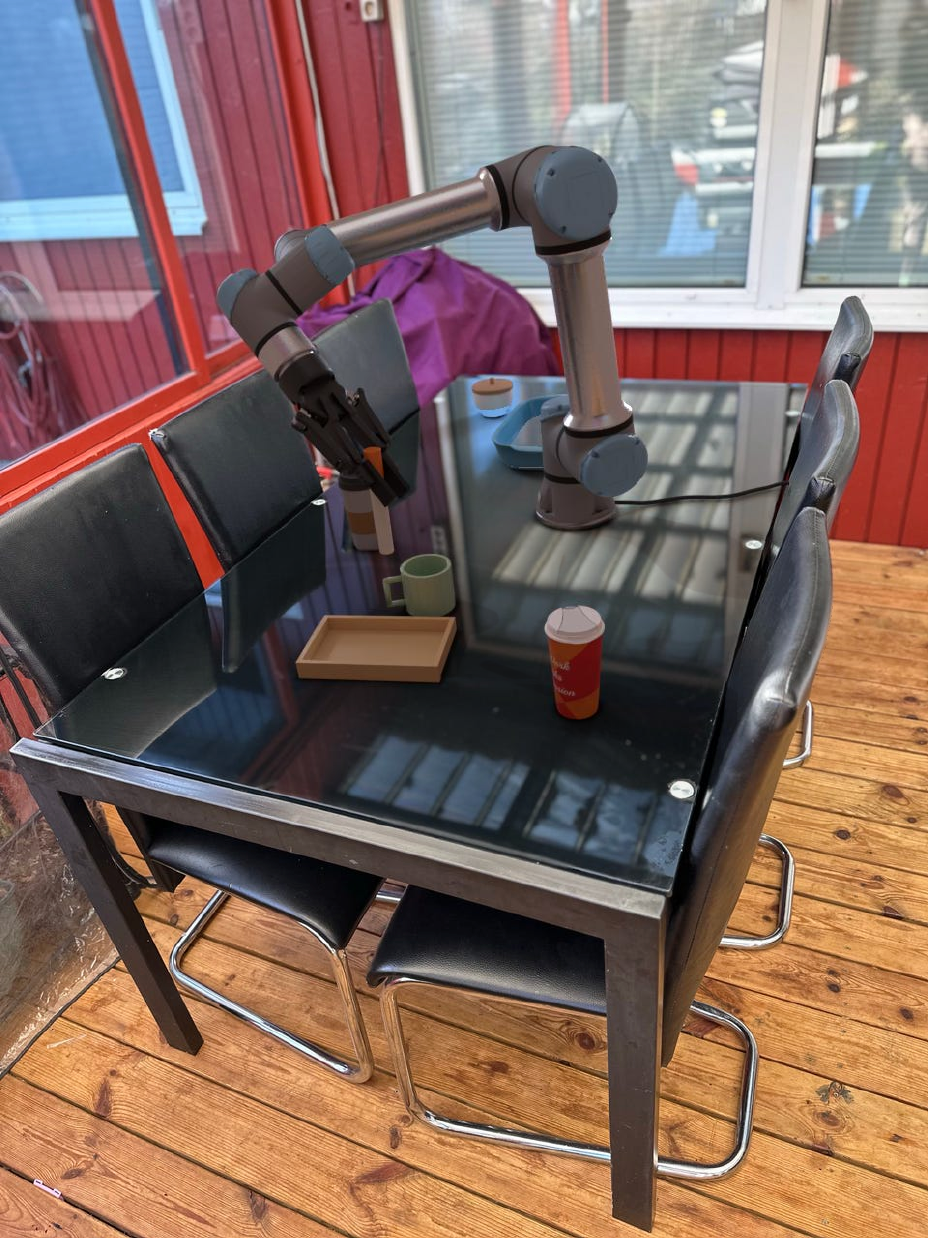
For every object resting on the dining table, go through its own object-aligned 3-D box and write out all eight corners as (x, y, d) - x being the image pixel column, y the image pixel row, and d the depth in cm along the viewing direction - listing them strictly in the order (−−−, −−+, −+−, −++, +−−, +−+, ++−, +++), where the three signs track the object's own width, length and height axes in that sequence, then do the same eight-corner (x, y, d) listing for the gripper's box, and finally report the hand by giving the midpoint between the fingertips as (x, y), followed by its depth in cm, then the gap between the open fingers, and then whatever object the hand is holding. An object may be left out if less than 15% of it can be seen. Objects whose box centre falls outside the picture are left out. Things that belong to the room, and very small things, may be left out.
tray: (457, 632, 139) (455, 617, 138) (439, 682, 128) (437, 666, 126) (327, 629, 144) (324, 615, 142) (298, 678, 132) (295, 662, 131)
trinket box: (470, 421, 226) (467, 385, 221) (477, 408, 235) (474, 372, 230) (512, 420, 224) (509, 383, 219) (517, 406, 233) (515, 371, 228)
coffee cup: (385, 554, 165) (374, 479, 157) (343, 554, 167) (330, 479, 159) (397, 534, 172) (387, 462, 164) (357, 534, 174) (344, 462, 166)
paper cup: (544, 693, 123) (539, 607, 116) (599, 687, 123) (597, 600, 116) (554, 728, 116) (549, 638, 109) (611, 721, 117) (611, 631, 109)
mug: (451, 592, 150) (446, 550, 146) (459, 616, 143) (454, 573, 139) (385, 603, 149) (379, 561, 145) (390, 628, 142) (383, 584, 138)
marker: (396, 547, 133) (382, 446, 125) (392, 555, 131) (377, 452, 123) (381, 547, 134) (365, 446, 126) (377, 554, 132) (361, 452, 124)
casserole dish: (583, 481, 186) (582, 449, 182) (482, 477, 193) (480, 446, 189) (615, 422, 215) (615, 393, 212) (527, 420, 222) (525, 392, 219)
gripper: (327, 370, 134) (421, 492, 133) (247, 399, 124) (349, 531, 123) (346, 337, 128) (445, 464, 127) (264, 365, 119) (370, 503, 118)
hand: (397, 497), depth 125 cm, fingers closed on marker, 2 cm apart
